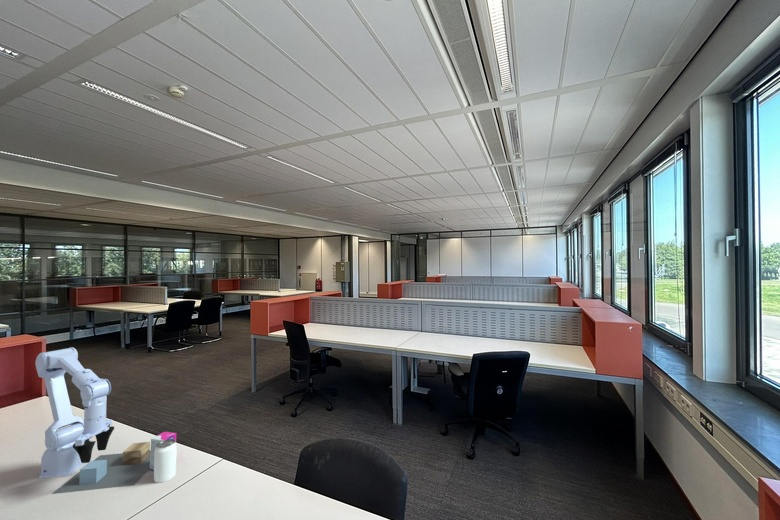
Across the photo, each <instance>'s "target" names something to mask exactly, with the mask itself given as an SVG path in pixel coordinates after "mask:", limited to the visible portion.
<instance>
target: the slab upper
mask: <svg viewBox="0 0 780 520" xmlns="http://www.w3.org/2000/svg"><path fill="white" fill-rule="evenodd" d="M148 449H150V450H151V441H144V442H133V443H132V444H130V445H129V446H128V447H127V448H126V449H124V450H123V451H122V453H123V459H125V458H135V457H141V456H142V455H143V454H144V453H145V452H146V451H147V450H148Z"/></svg>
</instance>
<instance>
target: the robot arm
mask: <svg viewBox="0 0 780 520" xmlns="http://www.w3.org/2000/svg"><path fill="white" fill-rule="evenodd" d="M78 358H79V353H78V350H77V349H76V348H75V347H71V346H70V347H68V348H62V349H57V350H51V351H45V352H40V353H39V354H38V355H37V356H36V359H35V361H34V362H35V369H36V373H37V376H38V378H41V379H43V380H44V383H45V387H46V392H47V395H48V396H47V397H48V402H49V405H50V409H51V413H52V414H51V415H52V419H53V422H52V423H51V425H49V426H48V427H47V429H46V430H45V431H44V446H45V447H46V450H44V452H43V454H42V456H41V458H40V459H41V460H40V463H41V464H40V475H39V476H38V479H46V478H57V477H67V476H70V475H72V474H73V473H75V472H76V471H77V470H78V469H79V468H82V466H84V465H86V464H88V463H89V462H90V461H92V460H91V459H92V453H93V449H94V446H95V444H96V447H97V451H105V450H106V449H107V446H108V443H109V440H110V437H111V435H112V433H113V431H114V430H115V426H113V419H107V399H108V398H107V396H108V395H110V394H111V391H112V385H111V382H110V380H109V379H107V378H103V377H102V378H100V377H98V375H97V374H96V373H94V372H93V370H92V369H91V368H84V366H83V365H82V364H81V361H79V360H78ZM65 373H68V374H69V375H70V376H71V377H72V378H71V383H72V384H74V386H75V387H76V388H77V389H78V390H79V391H80V398H81V400H82V402H81V403H82V406H83V407H84V411H83V417H82V416H77V415H74V414H73V409H72V404H71V401H70V397H69V393H68V388H67V384H66V380H65V379H66V378H65ZM93 437H95V438H96V440H93V441H91V439H92V438H93Z"/></svg>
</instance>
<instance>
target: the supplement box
mask: <svg viewBox="0 0 780 520" xmlns="http://www.w3.org/2000/svg"><path fill="white" fill-rule="evenodd" d="M167 439H174V440H175V443H176V444H177V432H170V431H163V432H161V433H159V434H158V435H155V436H154V437H152V438H151V439H150V469H149V470H150V471H154V451H155V448H156V445H157V444H158V443H159V442H161V441H163V440H167Z"/></svg>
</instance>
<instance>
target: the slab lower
mask: <svg viewBox="0 0 780 520" xmlns="http://www.w3.org/2000/svg"><path fill="white" fill-rule="evenodd" d="M150 451H151V448H150V449H148V450H147V451H146V452H145V453H144V454H143V455H142V456H141V457H135V458H125V459H123V465H133V464H141V463H142V462H143V461H144V460H145V459H146V458H147V457H148V456H149V455H150Z"/></svg>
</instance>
